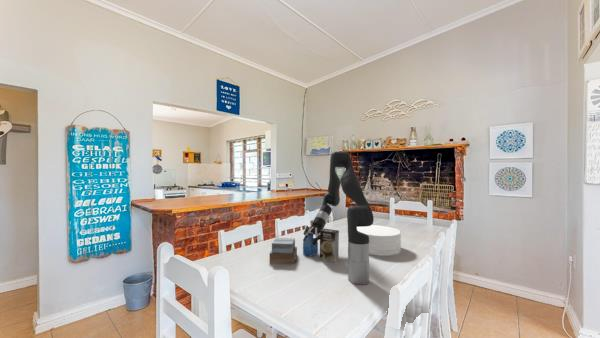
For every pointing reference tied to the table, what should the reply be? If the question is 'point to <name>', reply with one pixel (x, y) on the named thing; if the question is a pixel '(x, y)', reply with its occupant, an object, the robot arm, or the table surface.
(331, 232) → the coffee box
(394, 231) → the white short wide cylinder
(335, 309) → the table surface
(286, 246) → the two-tone square pedestal
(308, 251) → the perfume bottle
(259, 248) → the table surface
